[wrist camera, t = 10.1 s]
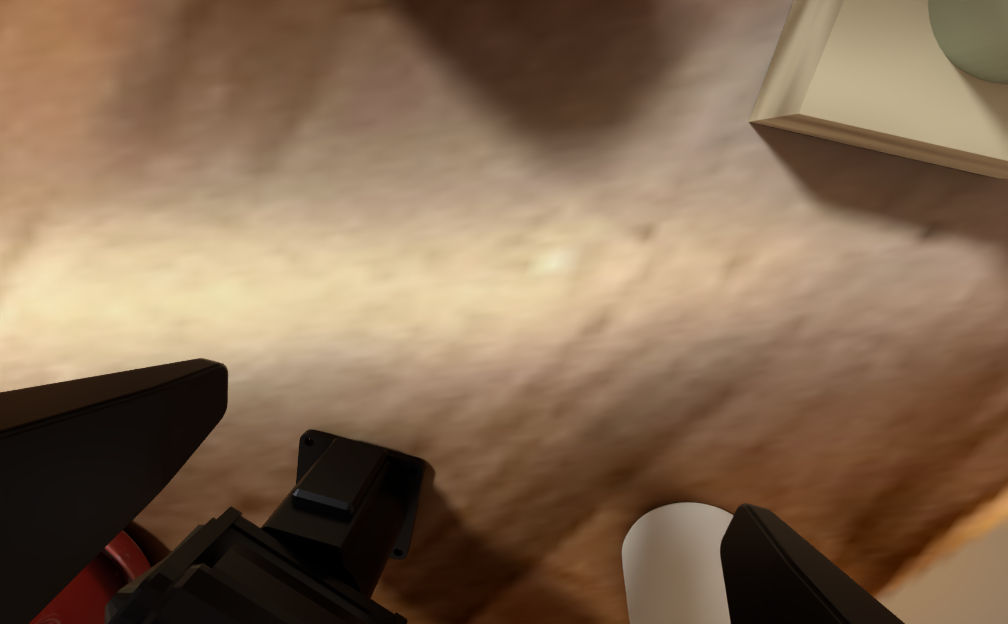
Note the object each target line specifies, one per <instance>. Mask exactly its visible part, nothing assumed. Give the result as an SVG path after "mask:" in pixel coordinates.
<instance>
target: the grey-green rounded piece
mask: <svg viewBox="0 0 1008 624" xmlns="http://www.w3.org/2000/svg"><path fill="white" fill-rule="evenodd" d="M928 11H929V19H930V24H931V27H932V31H933V34H934V36H935V38H936V41H937V43H938V45H939V47H940V48H941V50H942V51H943V52H944V54H945V55H946V57H947V58H948V59H949V60H950V61H951V62H952V63H953V64H954V65H955V66H957V67H958V68H959V69H961V70H962V71H964V72H965V73H967V74H969V75H971V76H973V77H975V78H977V79H981V80H984V81H987V82H991V83H998V84H1008V0H928Z"/></svg>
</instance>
